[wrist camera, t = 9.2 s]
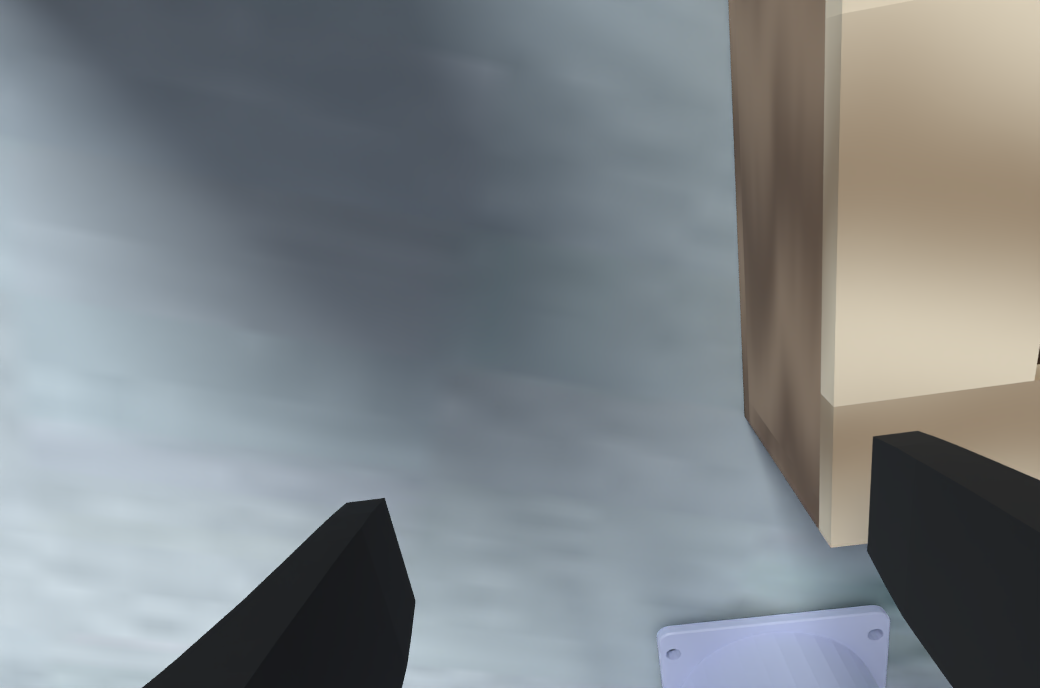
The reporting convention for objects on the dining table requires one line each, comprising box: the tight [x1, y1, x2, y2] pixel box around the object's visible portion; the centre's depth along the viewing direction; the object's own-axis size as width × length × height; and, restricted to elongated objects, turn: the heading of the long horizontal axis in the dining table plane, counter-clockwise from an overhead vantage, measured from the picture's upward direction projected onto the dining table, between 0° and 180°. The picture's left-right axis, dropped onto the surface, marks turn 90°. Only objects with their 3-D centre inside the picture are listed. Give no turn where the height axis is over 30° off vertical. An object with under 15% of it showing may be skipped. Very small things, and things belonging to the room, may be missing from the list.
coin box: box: [728, 0, 1040, 548], centre depth 13 cm, size 14×11×6 cm
